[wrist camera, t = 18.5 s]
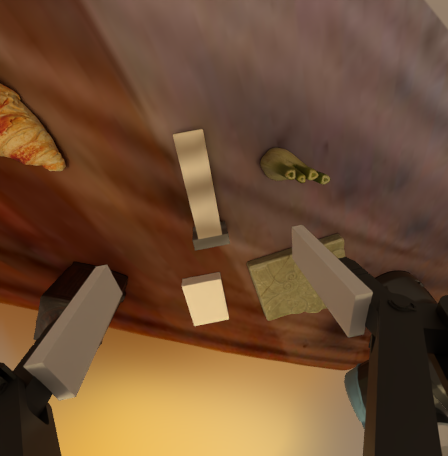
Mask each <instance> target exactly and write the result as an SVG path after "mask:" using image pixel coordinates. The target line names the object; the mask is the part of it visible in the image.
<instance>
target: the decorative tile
mask: <svg viewBox="0 0 448 456" xmlns="http://www.w3.org/2000/svg"><path fill="white" fill-rule="evenodd" d="M318 240H319V241H320V242H321V243H322V244H323V245H324V246H325V247H326V248H327V249H328V250H329V251H330V252H331V253H332V254H333V255H335V256H336V257H337V258H343V257H345V251H344V239H343V238H342V237H341V236H340V235H339V234H335V235H331V236H328V237H325V238H322V239H318ZM247 267H248V270H249V272H250V275H251V278H252V281H253V284H254V287H255V289H256V292H257V295H258V298H259V301H260V303H261V306H262V309H263V312H264V314H265V316H266V318H267V320H269V321H270V320H273V319H276V318H279V317H281V316H285V315H288V314H300V313H302V312H304V311H305V312H308V313H318V312H319V311H320V310H322V309H325V308H327V307H326V305H325V304H324V303H323V301H322V300H321V298H320V297H319V295H318V294H317V293H316V291H315V290H314V288H313V287H312V286H311V284H310V283H309V281H308V280H307V278H306V277H305V276H304V274H303V273H302V271H301V270H300V269H299V267H298V266H297V264H296V263H295V262H294V260H293V259H292V248H290V249H287V250H284V251H280V252H277V253H274V254H271V255H267V256H264V257H261V258H258V259H255V260H252V261H249V262H247Z"/></svg>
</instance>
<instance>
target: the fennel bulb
mask: <svg viewBox="0 0 448 456" xmlns="http://www.w3.org/2000/svg"><path fill="white" fill-rule="evenodd" d="M260 165H261V168H262V169H263V171H264V173H265V175H266V176H267V177H268V178H270V179H272V180H275V181H281V180H287V179H289V180H294V179H296V180H297V181H298V182H300V183H305V179H308V180H313V181H316V182H318V183H320V184H323V185H325V184H327V183H328V182H329V181H330V177H328V175H326V174H324V173H321V172H318V171H316V170H314V169H312V168H310V167H308V166H306V165H305V164H304V163H303V162H301V161H300V160H299V159H298V158H297V157H296V156H295V155H293V154H292V153H291V152H289V151H288V150H285V149H281V148H278V147H276V148H271V149H270V150H268V151H267V153H266V154H265V155H264V156H263V157H262V159H261V162H260Z"/></svg>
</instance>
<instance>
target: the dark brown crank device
mask: <svg viewBox="0 0 448 456" xmlns="http://www.w3.org/2000/svg"><path fill="white" fill-rule="evenodd" d="M96 267H97V266H94V265H90V264H84V263H78V262H73V264H72V265H71V266H70V267H69V268H68V269H67V270H66V271H65V272H64V273H63V274H62V275H61V276H60V277H59V278H58V279H57V280H56V281H55V282H54V283H53V284H52V285H51V286H50V287H49V288H48V289H47V291H46V292H45V293H44V294H43V295H42V296H41V299H40V306H39V311H38V317H37V321H36V329H35V334H34V340H37V339H38V338H39V337H40V335H41V334H42V332H43V331H44V330H45V328H46V327H47V326H48V325H49V324H50V323H51V322H52V321H54V320H55V319H56V318H58V317H60V315H61V314H62V313H63V311H64V310H65V309H66V307H67V306H68V305H69V303H70V302H71V300H72V299H73V298H74V296H75V295H76V294H77V292H78V291H79V289H80V288H81V287H82V285H83V284H84V283H85V281H86V280H87V278H88V277H89V276H90V274H91V273H92V272H93V270H94V269H95V268H96ZM110 271H111V270H110ZM111 273H112V275H113V277H114V278H115V280H116V282H117V284H118V286H119V288H120V290H121V292H122V296H121V298H120V301H119V303H118V305H117V307H116V309H115V312H116V311H117V308H118V306H119V304H120V302H123V300H124V298H125V295H126V294H125V288H126V285H127V279H128V277H127V276H124V275H122V274H120V273H117V272H115V271H111ZM115 312H114V313H115ZM113 316H114V314H113ZM113 316H112V318H113ZM112 318H111V320H112ZM111 320H110V322H111ZM109 324H110V323H109ZM108 326H109V325H108ZM107 329H108V327H107ZM107 329H106V330H107ZM105 333H106V331H105ZM104 335H105V334H104ZM103 337H104V336H103ZM102 340H103V338H102ZM102 340H101V342H100V345H101V344H102ZM100 345H99V346H100ZM98 348H99V347H98Z"/></svg>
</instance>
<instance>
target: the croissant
mask: <svg viewBox="0 0 448 456" xmlns="http://www.w3.org/2000/svg"><path fill="white" fill-rule="evenodd" d="M0 156H5V157H9V158H12V159H15V160H17V161H19V162H21V163H23V164H25V165H35V166H39V165H42V166H43V167H44V168H45V169H48V170H49V171H63V169H64V168H66V165H65V161H64V159H63V158H62V156H61V153H59V151H58V149H57V147H56V145H55V143H54V141H53V139H52V138H51V136H50V135H49V133H47V131H46V130H45V128H44V127H43V125H42V124H41V123H40V121H39V120H38V119H37V117H36V116H35V115H34V114H32V113H31V111H30V110H29V109H28V108H27V107H26V106H25V105H24V104H23V103H22V102H21V101H20V97H19V95H18V94H17V93H16V92H15V91H13V90H12V89H10V88H8V87H6V86H4V85H2V84H0Z"/></svg>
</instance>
